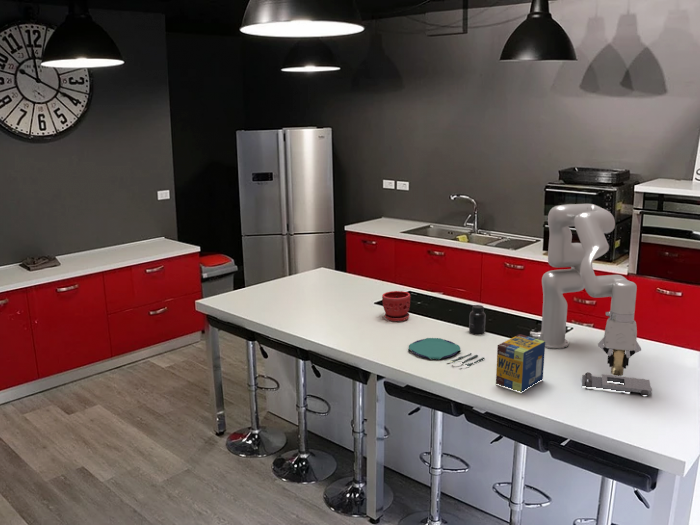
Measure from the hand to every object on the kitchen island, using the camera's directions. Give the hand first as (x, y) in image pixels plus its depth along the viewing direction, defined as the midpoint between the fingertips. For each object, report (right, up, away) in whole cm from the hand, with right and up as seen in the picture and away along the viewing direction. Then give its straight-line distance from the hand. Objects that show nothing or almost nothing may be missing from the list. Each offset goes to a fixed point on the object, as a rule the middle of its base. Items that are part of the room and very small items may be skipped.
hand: (617, 365), depth 218 cm
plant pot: (-71, +9, +77) cm, 106 cm away
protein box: (-32, -8, +7) cm, 34 cm away
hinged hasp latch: (0, -8, +2) cm, 8 cm away
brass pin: (0, -3, +1) cm, 3 cm away
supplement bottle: (-37, +5, +57) cm, 69 cm away
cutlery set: (-56, -2, +34) cm, 65 cm away
